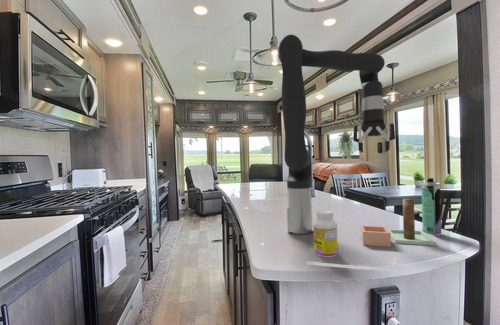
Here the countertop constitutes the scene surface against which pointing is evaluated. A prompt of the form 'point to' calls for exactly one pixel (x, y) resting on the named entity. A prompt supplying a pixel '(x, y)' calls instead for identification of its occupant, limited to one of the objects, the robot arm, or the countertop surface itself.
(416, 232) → the tray
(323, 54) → the robot arm
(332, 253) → the supplement bottle
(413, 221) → the dowel
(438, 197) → the spray can
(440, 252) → the countertop surface
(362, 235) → the peach planter box
